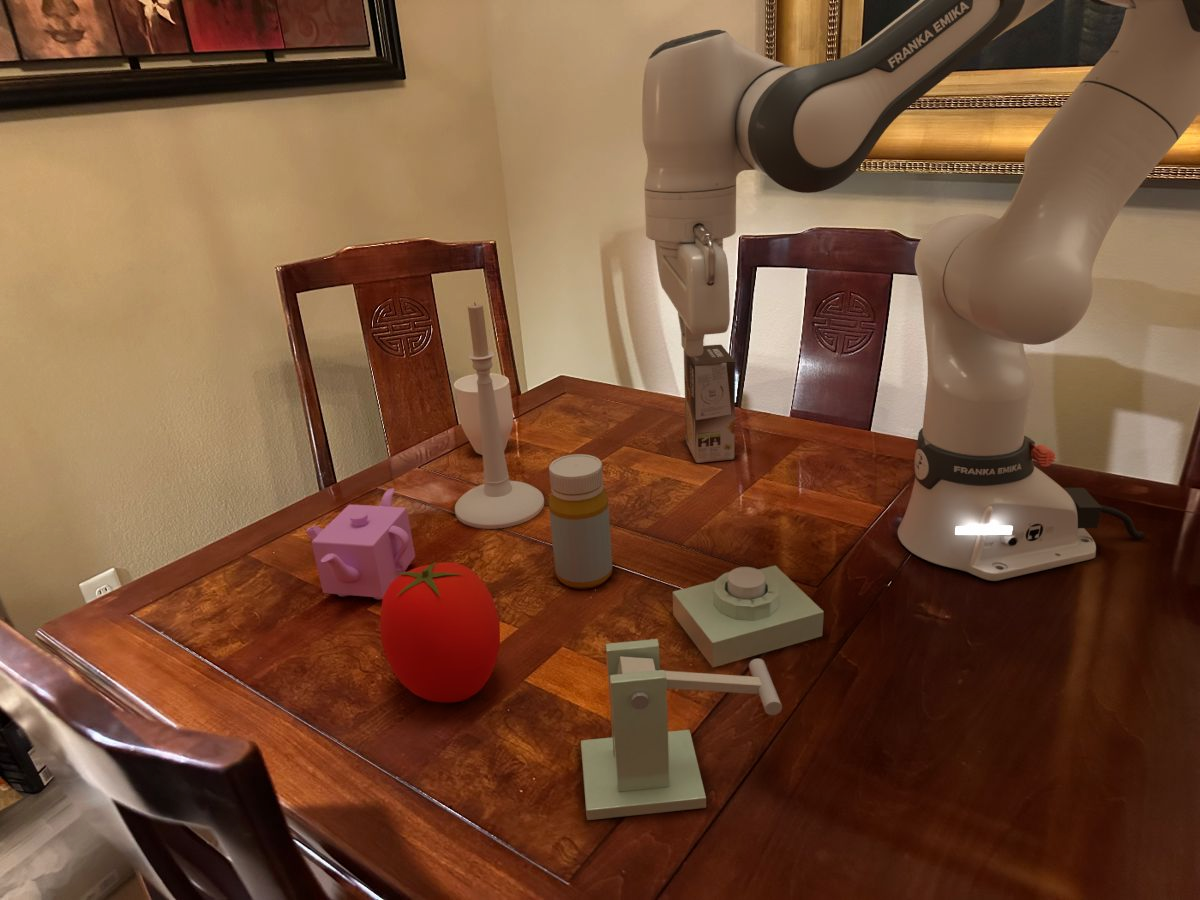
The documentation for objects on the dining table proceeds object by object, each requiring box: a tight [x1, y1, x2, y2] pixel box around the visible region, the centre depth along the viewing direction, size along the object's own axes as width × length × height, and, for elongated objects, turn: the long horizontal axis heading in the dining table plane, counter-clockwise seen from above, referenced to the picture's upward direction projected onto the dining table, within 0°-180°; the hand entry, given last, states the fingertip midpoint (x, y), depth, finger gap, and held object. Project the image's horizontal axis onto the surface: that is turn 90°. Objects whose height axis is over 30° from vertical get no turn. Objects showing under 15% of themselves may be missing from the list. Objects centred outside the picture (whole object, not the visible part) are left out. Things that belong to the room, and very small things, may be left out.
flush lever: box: [617, 656, 783, 716], centre depth 70 cm, size 13×6×2 cm, turn 94°
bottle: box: [548, 453, 613, 590], centre depth 100 cm, size 7×7×15 cm
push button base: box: [672, 565, 825, 668], centre depth 91 cm, size 13×10×5 cm
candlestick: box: [454, 301, 545, 530], centre depth 115 cm, size 13×13×30 cm
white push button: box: [727, 566, 766, 600], centre depth 90 cm, size 4×4×2 cm
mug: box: [453, 372, 514, 456], centre depth 138 cm, size 12×9×12 cm
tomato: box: [379, 561, 501, 704], centre depth 83 cm, size 13×11×14 cm
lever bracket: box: [580, 638, 707, 821], centre depth 71 cm, size 10×8×13 cm
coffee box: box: [683, 344, 736, 464], centre depth 131 cm, size 9×6×16 cm
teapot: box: [304, 487, 416, 600], centre depth 103 cm, size 18×13×10 cm
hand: (692, 352), depth 88 cm, fingers closed
